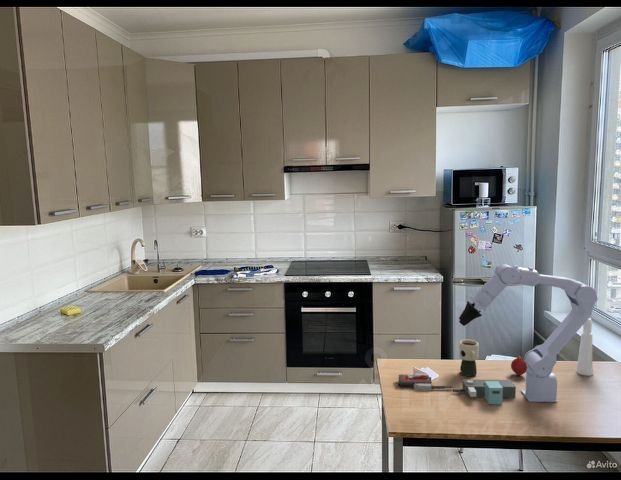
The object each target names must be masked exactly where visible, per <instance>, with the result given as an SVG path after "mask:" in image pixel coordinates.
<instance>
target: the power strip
mask: <svg viewBox="0 0 621 480" xmlns="http://www.w3.org/2000/svg"><path fill="white" fill-rule="evenodd" d="M485 381H498V382H499V383H500V385H501V386H502V387H503V398H516V395H517V394H516V390H517V389H516V388H517V387H516V385H515V384H514V382H513V381H512V380H511V379H467V378H466V379H462V385H461V387H462V388H452V392H453V393H464V395H465V397H466V398H471V397H470V395H469V393H468V387H474V388H475V390H476V397H475V398H485Z"/></svg>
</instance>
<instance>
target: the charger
mask: <svg viewBox="0 0 621 480" xmlns="http://www.w3.org/2000/svg"><path fill="white" fill-rule="evenodd" d="M484 398H485V401H486V402H487V404H488V405H503V398H504V397H503V387H502V386H501V385H500V383H499V382H498V381H485V397H484Z"/></svg>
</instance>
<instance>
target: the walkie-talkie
mask: <svg viewBox="0 0 621 480" xmlns="http://www.w3.org/2000/svg"><path fill="white" fill-rule="evenodd" d="M432 383H433V381H432V377H431V376H430V375H429V374H427V373H425V372H414V373H412V374H409V373H406V374H398V383H397V384H396V386H397V387H399V388H401V389H414V390H417V391H420V392H421V391H422V392H424V391H427V392H432V390H437V389H438V390H439V389H441V390H443V389H444V390H445V389H454V388H453V385H433V384H432Z"/></svg>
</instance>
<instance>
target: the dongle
mask: <svg viewBox="0 0 621 480" xmlns="http://www.w3.org/2000/svg"><path fill="white" fill-rule="evenodd" d="M468 393H469V395H470V397H469V398H477V397H476V390H475V388H474V387H468Z"/></svg>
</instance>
